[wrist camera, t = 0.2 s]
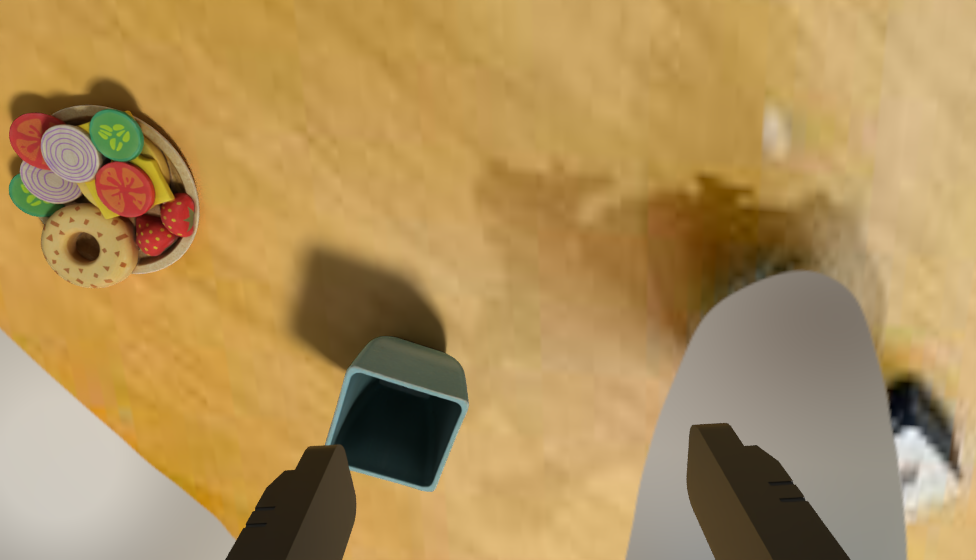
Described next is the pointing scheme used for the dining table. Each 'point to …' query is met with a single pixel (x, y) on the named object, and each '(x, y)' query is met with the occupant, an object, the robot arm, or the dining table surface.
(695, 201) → the dining table surface
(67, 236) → the toy food set
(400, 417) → the flower pot
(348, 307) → the dining table surface
